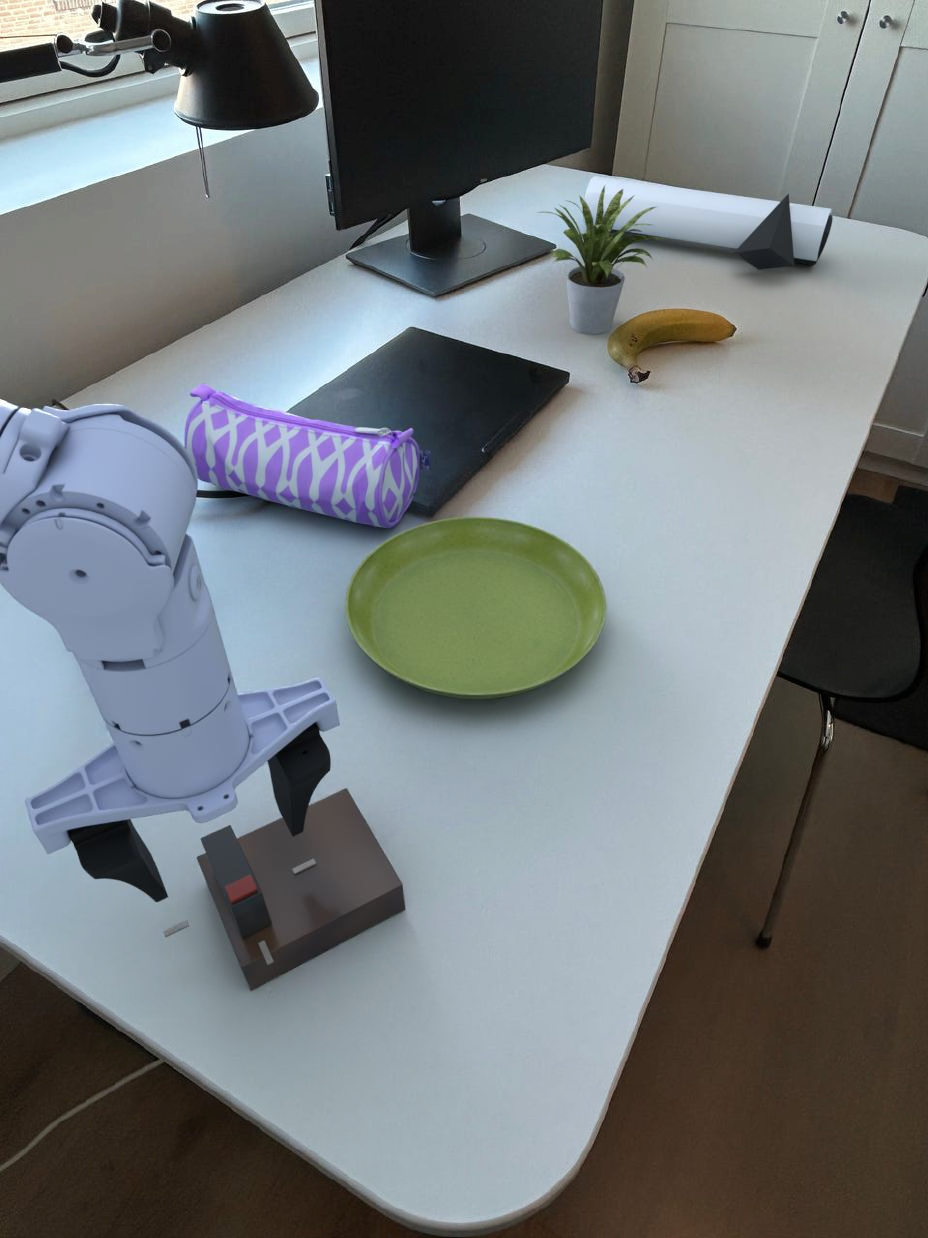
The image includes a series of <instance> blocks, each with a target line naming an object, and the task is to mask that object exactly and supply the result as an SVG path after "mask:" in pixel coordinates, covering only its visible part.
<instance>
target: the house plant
mask: <svg viewBox="0 0 928 1238" xmlns="http://www.w3.org/2000/svg"><path fill="white" fill-rule="evenodd" d="M604 193H605V186H604V187H603V189H602V192H601V194H600V198H599V202H598V208H597V215H596V221H595V225H594V224H593V217H592V214H591V212H590V209H589V207H588V205H587V203H586V202H585V201H584V198H583V197H582V196H580V195H579V202H580V205H581V206H582V207H580V206H579V205H578V204H577V203H575V202H573V201H570V200H566V199H565V201H566V202H568V203H571V204H573V205H575V206H576V207H577V208H578V209H579V210H580V211H581V213H582V217H583V216H584V219H585V223H586V225H585V230H586V232H584V233H581V230H580V227H579V225H578V223H577V221H576V220H575V218H574V217H573V216H572V214H571V213H570V211H569V210H568V208H566V206H563V205H561V204H559V206H560V207H561V208H562V209H563V210H565V212H566V213H567V215H568V216H569V217H568V216H567V215H566V214H565V213H564V212H563V211H562V210H560V209H557V208H556V207H554V210H555V211H556V213H555V212H551V211H537V213H545V214H553V215H555V216H558V217H559V218H560V219H561V220H562V221H563V222H564V223H565V224H566V225H567V227H568V229H565V230H564V231H563V232H562V233H563V234H564V235H565V237H567V238H568V239H569V240H570V241H571V242H572V243H573V244H574V245H575V247H576V248H577V250H578V252H579V254H580V256H581V259H582V261H583V263H584V265H583V264H582V263H581V261H580V260H579V259H578V258H577V257H575V256H574V255H573V254H572V253H571V252H569V251H568V250H566V249H563V248H557V249H555V250H554V251H553V253H552V255H551V256H550V257H549V259H552V258H555V259H554V260H553V261H552V263H555V262H556V263H557V262H561V261H575V262H577V265H578V266H576V267H574V268H571V269H569V270H568V271H567V274H566V286H567V299H568V310H569V322H570V327H571V328H572V330H574V331H576V332H578V333H581V334H584V335H601V334H604V333H607V332H609V331H610V330H611V329H612V327H613V322H614V319H615V315H616V311H617V308H618V305H619V302H620V297H621V294H622V290H623V287H624V283H625V279H626V277H625V275H624V273H623V272H622V271H621V270H619V269H617V267H616V268H615V267H614V266H615V265H616V264H618V263H620V264H619V265H618V267H620V266H621V265H622V264H623V263H638V264H639V263H640V264H641V265H644V266H645V267H646V268H648V266H647V265H646V263H645V261H644V259H643V258H642V257H640V256H638V255H645V256H647V257H649V258H650V259H651V260H652V261H654V259H653V257H652V255H651V254H650V252H648V251H647V250H646V249H644V248H639V247H638V248H637V247H636V248H630V249H626V248H627V247H628V246H630V245H632V244H634V243H637V242H641V241H650V240H657V241H666V238H661V237H653V236H645V235H636V234H632V235H628V236H625V235H626V234H627V233H628V232H631V231H637V232H642V231H640V230H637V229H632V230H629V231H627V230H628V229H629V228H630V227H632V226H637V225H651V224H642V223H641V224H634V223H635V222H636V221H637V220H638V219H639V218H640V217H641V216H642V215H643V214H645V213H646V212H648V211H650V210H652V209H654V208H656V207H651V208H648V209H645V210H643V211H641V212H640V213H638V214H637V215H635V216H634V217H633V218H632V219H631V220H630V221H629V222H627V223H626V224H625V225H624V226H623V227H622V228H621V230H620V231H619V232H611V230H612V227H613V225H614V222H615V220H616V218H617V216H618V215H619V213H620V212H621V211H622V209H623V208H624V207H625V206H626V205H627V204H628V203H629V202H630V201H631V199H632V198H633V197H634V196H635V195H634V196H632V197H631V198H630V199H628V200H627V201H626V202H624V203H623V204H622V205H621V206H620V199H621V197H622V195H623V189H622V190H620V191H619V192H618V193H617V194H616V195H615V196H614V197H613V199H612V200H611V202H610V204H609V206H608V208H607V210H606V212H605V214H604V216H603V213H604V208H603V199H604ZM581 208H582V209H581ZM569 218H570V219H571V220H570V219H569ZM585 223H584V224H585ZM633 224H634V225H633ZM626 231H627V232H626ZM625 232H626V233H625ZM623 236H625V237H623ZM625 249H626V250H625ZM631 253H635V254H633V255H629V256H625V255H626V254H631ZM623 256H624V257H623Z"/></svg>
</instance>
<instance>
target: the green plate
mask: <svg viewBox="0 0 928 1238" xmlns="http://www.w3.org/2000/svg"><path fill="white" fill-rule="evenodd" d="M344 610H345V618H346V621H347V626H348V628H349V631H350V633H351V635H352V637H353V638H354V640H355V641H356V644H357V645H358V646H359V647H360V649H361V650H362V651H363V652H364V653H365V654H366V655H367V656H368V657H369V658H370V660H372V661H373V662H374V663H375V664H376V665H377V666H379V667H380V668H381V669H382V670H383V671H386V672H387V673H388V674H390V675H391V676H393V677H394V678H396V679H398V680H399V681H402V682H403V683H406V684H407V685H410V686H412V687H415V688H417V689H419V690H422V691H424V692H428V693H432V694H435V695H438V696H444V697H449V698H456V699H465V700H467V699H469V700H485V699H486V700H489V699H499V698H504V697H511V696H515V695H519V694H523V693H526V692H529V691H531V690H534V689H537V688H539V687H542V686H544V685H546V684H548V683H551V682H552V681H555V680H556V679H557V678H559V677H561V676H562V675H564V674H565V673H567V672H568V671H570V670H571V669H573V667H574V666H576V665H577V664H579V662H581V660H583V659H584V658H585V656H586V655H588V654H589V652H590V651H591V650H592V648H593V647H594V646H595V644H596V643H597V641H598V639H599V637H600V636H601V634H602V631H603V629H604V625H605V622H606V617H607V598H606V593H605V590H604V587H603V584H602V581H601V579H600V577H599V575H598V573H597V571H596V570H595V569H594V567H593V566H592V564H591V563H590V562H589V561H588V559H586V557H585V556H584V555H583V554H582V553H581V552H579V550H577V549H576V548H575V547H573V546H572V545H571V544H570V543H568V542H567V541H565V540H563V539H561V538H560V537H558V536H557V535H555V534H553V533H551V532H549V531H546V530H544V529H541V528H538V527H536V526H533V525H530V524H526V523H523V522H520V521H516V520H510V519H505V518H500V517H489V516H460V517H450V518H444V519H443V518H442V519H439V520H433V521H430V522H426V523H421V524H418V525H417V526H416V525H415V526H413V527H410V528H407V529H405V530H403V531H401V532H399V533H396V534H395V535H393V536H391V537H389V538H388V539H386V540H384V541H383V542H381V543H380V544H379V545H378V546H376V547H375V548H374V549H373V550H372V551H370V552H369V553H368V554H367V555H366V556H365V557H364V558H363V560H362V561H361V562H360V563H359V565H358V566H357V567H356V568H355V570H354V572H353V574H352V576H351V578H350V580H349V583H348V585H347V588H346V591H345V600H344Z"/></svg>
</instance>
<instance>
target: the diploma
mask: <svg viewBox="0 0 928 1238" xmlns="http://www.w3.org/2000/svg"><path fill="white" fill-rule="evenodd" d="M604 186H605V193H604V199H603V208H604V213H603V216H604V214H605V212H606V210H607V208H608V206H609V204H610V202H611V200H612V199H613V197H614V196H615V195H616V194H617V193H618V192H619V191H620V190H622V189H623V195H622V197H621V199H620V206H621V205H622V204H623V203H624V202H626V201H627V200H628V199H630V198H631V197H632V196H634V195H635V196H634V197H633V198H632V199H631V201H630V202H629V203H628V204H627V205H626V206H625V207H624V208H623V209H622V211H621V212H620V213H619V215H618V216H617V218H616V220H615V222H614V225H613V227H612V230H611V233H615V232H619V231H620V230H621V228H622V227H623V226H624V225H625V224H626V223H627V222H629V221H630V220H631V219H632V218H633V217H634V216H635V215H637V214H638V213H640V212H641V211H643V210H645V209H648V208H651V207H656V208H654V209H652V210H650V211H648V212H646V213H645V214H643V215H642V216H641V217H640V218H639V219H638V220H637V221H636V222H635V223H634V224H641V223H642V224H651V225H637V226H632V227H630V228H629V229H628V230H627V231H629V230H632V229H637V230H640V231H642V232H637V231H631V232H628V233H626V232H627V231H626V232H625V233H626V234H629V235H645V236H652V237H656V238H660V239H670V240H678V241H684V242H690V243H697V244H701V245H702V244H703V245H710V246H715V247H721V248H727V249H732V250H735V251H733V254H735V255H736V256H738V257H739V258H740V259H742V260H743V261H745V262H746V263H748V264H749V265H751V266H752V267H753V268H754V269H757V270H758V271H759V270H769V269H777V268H779V269H781V268H788V267H795V263H798V264H803V265H807V266H812V267H814V266H815V265H816V264H817V262H818V261H819V259H820V257H821V256H822V254H823V251H824V249H825V247H826V244H827V242H828V239H829V237H830V232H831V229H832V224H833V219H834V218H833V214H832V211H833V208H829V207H821V206H816V205H815V206H814V205H807V204H801V203H800V204H799V203H792V202H790V194H789V192H788V193H787V195H785V196H784V197H783V199H782V200H781V201H779V200H771V199H763V198H758V197H757V198H756V197H749V196H741V195H735V194H727V193H721V192H713V191H705V190H698V189H692V188H686V187H685V188H684V187H676V186H669V185H662V184H655V183H649V182H641V181H633V180H627V179H626V180H625V179H618V178H613V177H605V176H604V177H603V176H599V175H598V176H597V175H593V176H592V177H591V178H590V180H589V182H588V183H587V187H586V191H585V194H584V195H585V196H584V198H583V200H584V201H585V202H586V203H587V205H588V207H589V209H590V212H591V214H592V217H593V224H594V225H595V221H596V215H597V208H598V202H599V198H600V194H601V192H602V189H603V187H604ZM582 220H583V224H584V225H585V226H586V223H585V219H584V216H583V215H582ZM634 224H633V225H634ZM625 233H624V234H625Z"/></svg>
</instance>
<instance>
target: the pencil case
mask: <svg viewBox="0 0 928 1238" xmlns="http://www.w3.org/2000/svg"><path fill="white" fill-rule="evenodd" d="M189 396H190V397H191V398H196V397H197V398H199V399H200V400H199V401H198V402H197V403H195V404H194V405H193V406H192V408H191V409H190V411H189V413H188V415H187V417H186V420H185V426H184V447H185V449H186V450H187V452H188V453H189V455H190V457H191V458H192V461H193V463H194V465H195V468H196V472H197V478H198V480H199V481H201V482H204V483H208V484H211V485H213V486H215V487H218V488H220V489H224V490H227V491H232V492H238V493H241V494H245V495H248V496H252V497H254V498H259V499H262V500H266V501H267V502H268V501H269V502H273V503H277V504H281V505H284V506H287V507H290V508H294V509H299V510H304V511H307V512H312V513H315V514H321V515H325V516H329V517H332V518H336V519H341V520H345V521H348V522H353V523H356V524H357V523H358V524H362V525H367V526H368V525H369V526H371V527H378V528H385V529H390V528H393V527H394V526H396V525H398V524H399V522H400V521H401V519H402V517H403V515H404V513H405V512H407V510H408V508H409V507H410V505H411V503H412V502H413V500H414V498H415V495H414V496H413V497H411V498H409V497H410V495H411V493H415V494H416V492H417V488H418V484H419V479H420V472H421V471H420V470H422V471H425V472H431V471H432V458H431V457H432V454H431V451H430V450H425V449H424V450H423V449H421V450H420V446H419V444H418V443H417V441H416V440H415V439H414V438H413V437H412V436H413V435H414V429H413V428H412V427H410V428H409V429H407V430H405V431H401V430H391V429H389V428H388V427H381V428H373V427H363V426H362V427H361V426H360V427H356V426H351V425H346V424H340V423H335V422H331V421H326V420H322V419H321V420H320V419H309V418H307V417H303V416H299V415H297V414H296V415H295V414H293V413H291V412H290V413H289V412H286V411H282V410H279V409H275V408H269V407H266V406H265V407H264V406H260V405H257V404H254V403H251V402H247V401H245V400H242V399H241V398H238V397H235V396H233V395H231V394H229V393H226V392H225V391H222V390H221V391H220V390H219V391H216V390H215V389H214V388H213V387H212V386H210V385H208V384H206V383H205V382H202V383H200V384H198V386H197V387H195V388H194V389H193V390H192V391H191V392H190V393H189Z"/></svg>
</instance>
